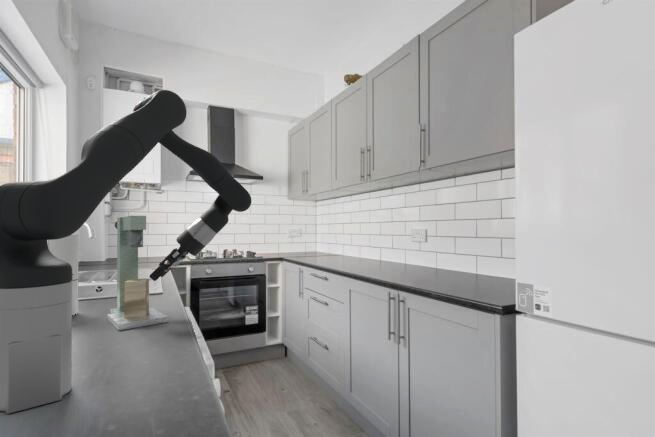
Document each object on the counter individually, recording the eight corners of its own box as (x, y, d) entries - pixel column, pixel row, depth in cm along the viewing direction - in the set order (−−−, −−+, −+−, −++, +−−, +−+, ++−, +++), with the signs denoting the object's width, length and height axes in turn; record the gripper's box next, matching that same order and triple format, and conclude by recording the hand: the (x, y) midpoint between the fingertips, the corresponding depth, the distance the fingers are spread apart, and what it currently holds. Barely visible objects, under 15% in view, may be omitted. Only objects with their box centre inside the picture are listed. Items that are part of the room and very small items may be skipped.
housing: (144, 316, 98) (144, 280, 98) (124, 318, 96) (124, 281, 97) (149, 312, 102) (149, 278, 103) (130, 314, 101) (130, 279, 102)
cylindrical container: (44, 316, 107) (45, 235, 108) (70, 311, 113) (71, 234, 114) (56, 318, 104) (57, 235, 104) (82, 313, 110) (83, 234, 111)
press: (167, 321, 97) (167, 215, 98) (118, 330, 89) (118, 214, 90) (138, 304, 122) (138, 219, 123) (98, 310, 114) (98, 219, 115)
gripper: (191, 228, 110) (152, 265, 107) (183, 227, 97) (138, 270, 94) (208, 244, 112) (170, 282, 108) (203, 246, 98) (159, 289, 95)
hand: (155, 276), depth 101 cm, fingers open, 8 cm apart
